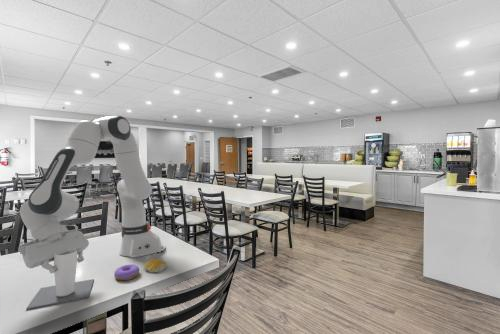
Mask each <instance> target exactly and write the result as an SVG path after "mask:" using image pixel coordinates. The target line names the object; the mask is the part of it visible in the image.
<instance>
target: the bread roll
mask: <svg viewBox="0 0 500 334" xmlns="http://www.w3.org/2000/svg"><path fill="white" fill-rule="evenodd" d="M166 265H167V263H166V262H165V261H163V260H162V259H161V260H160V259H157V258H153V259H150V260H148V261H147V262H146V263H145V266H144V270H145V271H146V272H149V273H150V274H151V273H153V274H154V273H155V274H156V273H159V272H162V271H164V270H165V269H166Z"/></svg>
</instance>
